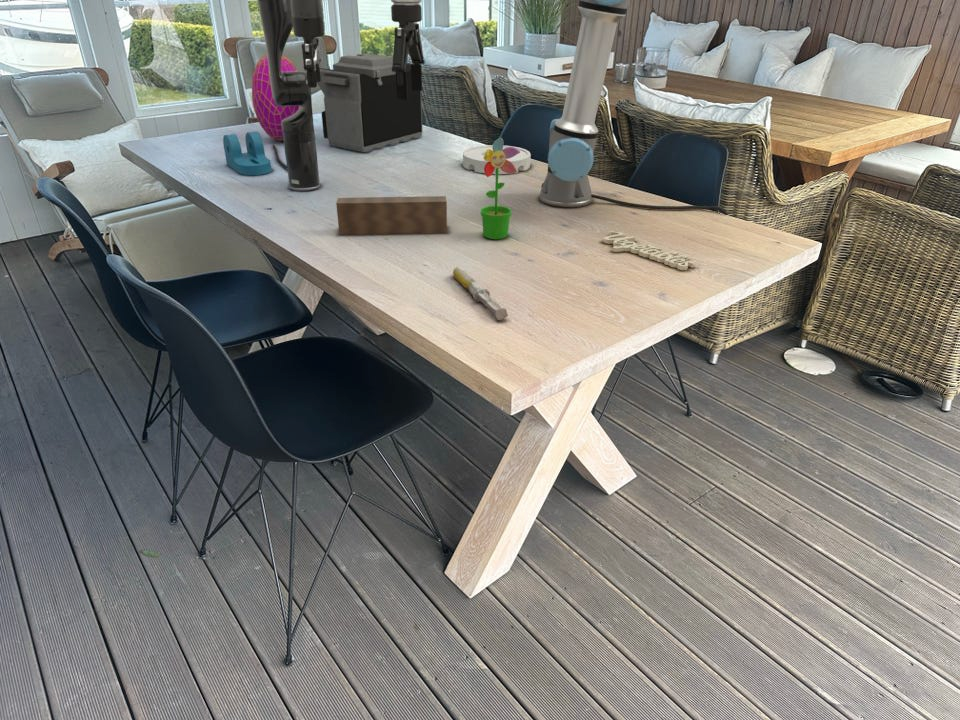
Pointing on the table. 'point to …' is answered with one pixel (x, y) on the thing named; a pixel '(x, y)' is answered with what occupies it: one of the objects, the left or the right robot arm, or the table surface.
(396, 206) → the bar
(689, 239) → the table surface
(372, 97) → the cooler box
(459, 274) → the syringe
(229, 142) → the camera mount
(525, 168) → the ashtray
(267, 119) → the decorative egg
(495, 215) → the potted flower
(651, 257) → the decorative sign
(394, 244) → the table surface
